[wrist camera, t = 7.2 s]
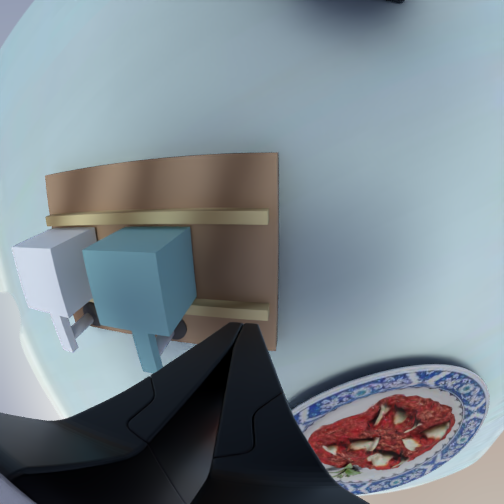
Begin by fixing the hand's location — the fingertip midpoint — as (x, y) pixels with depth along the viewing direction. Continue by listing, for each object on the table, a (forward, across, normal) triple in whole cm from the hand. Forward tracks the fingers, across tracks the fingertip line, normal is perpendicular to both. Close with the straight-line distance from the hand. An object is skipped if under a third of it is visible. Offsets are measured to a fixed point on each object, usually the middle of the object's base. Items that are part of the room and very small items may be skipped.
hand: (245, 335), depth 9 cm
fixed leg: (+10, +16, +4) cm, 19 cm away
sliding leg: (+10, +8, +4) cm, 14 cm away
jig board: (+12, +9, +2) cm, 15 cm away
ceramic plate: (+12, -12, +23) cm, 29 cm away
